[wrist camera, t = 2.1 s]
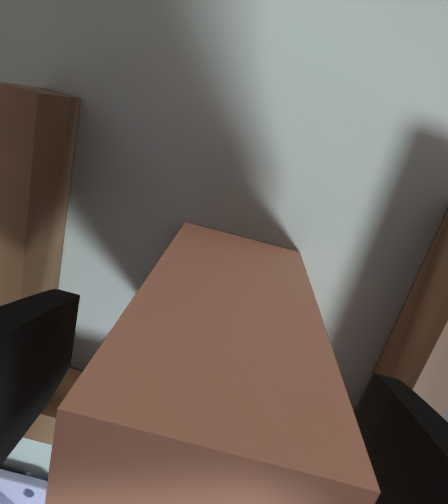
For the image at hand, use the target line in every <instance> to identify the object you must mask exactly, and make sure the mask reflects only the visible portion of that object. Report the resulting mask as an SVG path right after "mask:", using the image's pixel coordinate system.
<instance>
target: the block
mask: <svg viewBox="0 0 448 504" xmlns="http://www.w3.org/2000/svg"><path fill="white" fill-rule="evenodd" d="M380 493H381V492H380V489H379V486H378V483H377V480H376V477H375V474H374V471H373V468H372V465H371V462H370V459H369V456H368V453H367V450H366V447H365V444H364V441H363V438H362V435H361V432H360V429H359V426H358V423H357V420H356V417H355V414H354V411H353V409H352V406H351V403H350V400H349V397H348V394H347V391H346V388H345V385H344V382H343V379H342V376H341V373H340V370H339V367H338V364H337V361H336V358H335V355H334V352H333V349H332V346H331V343H330V340H329V337H328V334H327V331H326V328H325V325H324V322H323V319H322V317H321V314H320V311H319V308H318V305H317V302H316V299H315V296H314V293H313V290H312V287H311V284H310V281H309V278H308V275H307V272H306V269H305V266H304V263H303V260H302V257H301V254H300V252H297V251H294V250H290V249H286V248H282V247H278V246H275V245H271V244H267V243H263V242H260V241H256V240H252V239H248V238H244V237H241V236H237V235H233V234H229V233H225V232H222V231H218V230H214V229H210V228H207V227H203V226H199V225H195V224H191V223H188V222H185V223H184V224H183V226H182V227H181V229H180V230H179V232H178V233H177V235H176V236H175V237H174V239H173V240H172V242H171V243H170V245H169V246H168V248H167V249H166V251H165V252H164V254H163V255H162V256H161V258H160V259H159V261H158V262H157V264H156V265H155V267H154V268H153V270H152V271H151V273H150V274H149V275H148V277H147V278H146V280H145V281H144V283H143V284H142V286H141V287H140V289H139V290H138V292H137V293H136V294H135V296H134V297H133V299H132V300H131V302H130V303H129V305H128V306H127V308H126V309H125V310H124V312H123V313H122V315H121V316H120V318H119V319H118V321H117V322H116V324H115V325H114V327H113V328H112V329H111V331H110V332H109V334H108V335H107V337H106V338H105V340H104V341H103V343H102V344H101V346H100V347H99V348H98V350H97V351H96V353H95V354H94V356H93V357H92V359H91V360H90V362H89V363H88V365H87V366H86V367H85V369H84V370H83V372H82V373H81V375H80V376H79V378H78V379H77V381H76V382H75V384H74V385H73V386H72V388H71V389H70V391H69V392H68V394H67V395H66V397H65V398H64V400H63V401H62V403H61V404H60V405H59V407H58V408H57V414H56V422H55V430H54V437H53V445H52V452H51V460H50V467H49V475H48V483H47V490H46V498H45V504H375V502H376V500H377V499H378V497H379V495H380Z"/></svg>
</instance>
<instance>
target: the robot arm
mask: <svg viewBox="0 0 448 504" xmlns="http://www.w3.org/2000/svg"><path fill="white" fill-rule="evenodd" d="M79 298H80V295H77V294H73V293H70V292H66V291H62V290H58V289H52V290H47V291H44V292H41V293H38V294H34V295H31V296H28V297H25V298H22V299H19V300H17V301H14V302H11V303H8V304H5V305H2V306H0V466H1V464H2V463H3V462H4V460H5V459H6V458H7V457H8V455H9V454H10V453H11V451H12V450H13V449H14V448H15V446H16V445H17V444H18V442H19V441H20V440H21V438H22V437H23V436H24V435H25V433H26V432H27V431H28V429H29V428H30V427H31V425H32V424H33V423H34V422H35V420H36V419H37V418H38V416H39V415H40V414H41V412H42V411H43V410H44V408H45V407H46V406H47V404H48V403H49V401H50V400H51V398H52V396H53V395H54V393H55V391H56V390H57V388H58V386H59V385H60V383H61V381H62V380H63V378H64V376H65V374H66V373H67V371H68V369H69V367H70V364H71V357H72V349H73V342H74V335H75V327H76V320H77V313H78V305H79ZM355 417H356V420H357V423H358V426H359V429H360V432H361V435H362V438H363V441H364V444H365V447H366V450H367V453H368V456H369V459H370V462H371V465H372V468H373V471H374V474H375V477H376V480H377V483H378V486H379V489H380V492H381V493H380V495H379V497H378V499H377V500H376V502H375V504H448V422H447V421H446V420H445V419H444V418H443V417H442V416H441V415H440V414H438V413H437V412H436V411H435V410H434V409H433V408H432V407H431V406H430V405H429V404H428V403H427V402H425V401H424V400H423V399H422V398H421V397H420V396H419V395H418V394H417V393H415V392H414V391H413V390H412V389H411V388H410V387H408V386H407V385H406V384H405V383H403V382H402V381H401V380H399V379H396V378H392V377H388V376H385V375H381V374H377V373H374V374H373V376H372V378H371V381H370V383H369V385H368V387H367V389H366V391H365V394H364V396H363V398H362V400H361V402H360V404H359V407H358V409H357V411H356V413H355ZM47 483H48V481H45V480H42V479H38V478H34V477H30V476H26V475H22V474H18V473H14V472H11V471H7V470H3V469H0V504H45V498H46V490H47Z"/></svg>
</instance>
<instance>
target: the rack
mask: <svg viewBox="0 0 448 504" xmlns="http://www.w3.org/2000/svg"><path fill="white" fill-rule="evenodd" d="M79 105H80V98H77V97H74V96H70V95H66V94H62V93H58V92H55V91H51V90H47V89H43V88H37V87H30V86H23V85H16V84H9V83H2V82H0V306H2V305H5V304H8V303H11V302H14V301H17V300H19V299H22V298H25V297H28V296H31V295H34V294H38V293H41V292H44V291H47V290H52V289H58V285H59V277H60V268H61V259H62V251H63V242H64V234H65V225H66V217H67V208H68V200H69V191H70V182H71V174H72V165H73V157H74V148H75V140H76V131H77V122H78V114H79ZM82 372H83V371H80V370H76V369H72V368H69V369H68V371H67V373H66V374H65V376H64V378H63V380H62V381H61V383H60V385H59V386H58V388H57V390H56V391H55V393H54V395H53V396H52V398H51V400H50V401H49V403H48V404H47V406H46V407H45V408H44V410H43V411H42V412H41V414H40V415H39V416H38V418H37V419H36V420H35V422H34V423H33V424H32V425H31V427H30V428H29V429H28V431H27V432H26V433H25V435H24V436H23V437H24V438H28V439H31V440H35V441H39V442H43V443H47V444H51V445H53V437H54V430H55V422H56V414H57V408H58V407H59V405H60V404H61V403H62V401H63V400H64V398H65V397H66V395H67V394H68V392H69V391H70V389H71V388H72V386H73V385H74V384H75V382H76V381H77V379H78V378H79V376H80V375H81V373H82ZM374 373H377V374H381V375H385V376H388V377H392V378H396V379H399V380H401V381H402V382H403V383H405V384H406V385H407V386H408V387H410V388H411V389H412V390H413V391H414V392H415V393H417V394H418V395H419V396H420V397H421V398H422V399H423V400H424V401H425V402H427V403H428V404H429V405H430V406H431V407H432V408H433V409H434V410H435V411H436V412H437V413H438V414H440V415H441V416H443V414H444V412H445V411H446V409H447V407H448V210H447V212H446V214H445V217H444V219H443V221H442V223H441V225H440V228H439V230H438V232H437V234H436V236H435V239H434V241H433V243H432V245H431V247H430V249H429V252H428V254H427V256H426V258H425V260H424V263H423V265H422V267H421V269H420V271H419V274H418V276H417V278H416V280H415V282H414V284H413V287H412V289H411V291H410V293H409V295H408V298H407V300H406V302H405V304H404V306H403V309H402V311H401V313H400V315H399V317H398V320H397V322H396V324H395V326H394V328H393V330H392V333H391V335H390V337H389V339H388V341H387V344H386V346H385V348H384V350H383V352H382V355H381V357H380V359H379V361H378V363H377V365H376V368H375V370H374V372H373V374H374ZM373 374H372V376H373ZM372 376H371V378H372ZM370 381H371V379H370ZM370 381H369V383H370ZM369 383H368V385H369ZM368 385H367V387H368ZM367 387H366V389H367ZM365 391H366V390H365ZM364 394H365V392H364ZM364 394H363V396H364ZM363 396H362V398H363ZM362 398H361V400H362ZM361 400H360V402H361ZM359 404H360V403H359ZM358 407H359V405H358ZM358 407H357V409H358ZM357 409H356V411H357ZM356 411H355V413H356Z"/></svg>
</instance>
